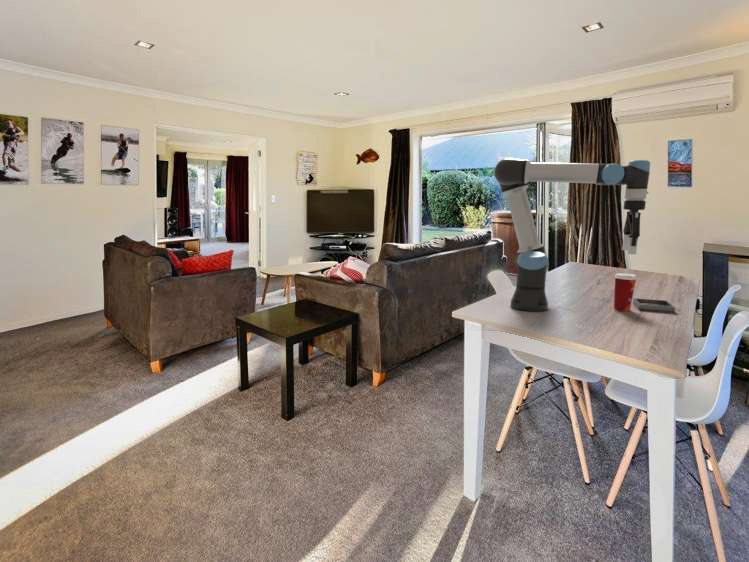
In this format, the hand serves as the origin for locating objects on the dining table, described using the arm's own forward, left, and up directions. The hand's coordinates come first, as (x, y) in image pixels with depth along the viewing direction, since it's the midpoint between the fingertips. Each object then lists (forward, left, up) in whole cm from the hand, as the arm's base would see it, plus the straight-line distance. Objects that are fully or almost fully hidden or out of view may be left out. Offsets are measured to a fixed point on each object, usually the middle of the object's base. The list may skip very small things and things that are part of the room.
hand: (628, 252), depth 183 cm
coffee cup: (0, 0, -25) cm, 25 cm away
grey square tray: (+13, +8, -24) cm, 29 cm away
